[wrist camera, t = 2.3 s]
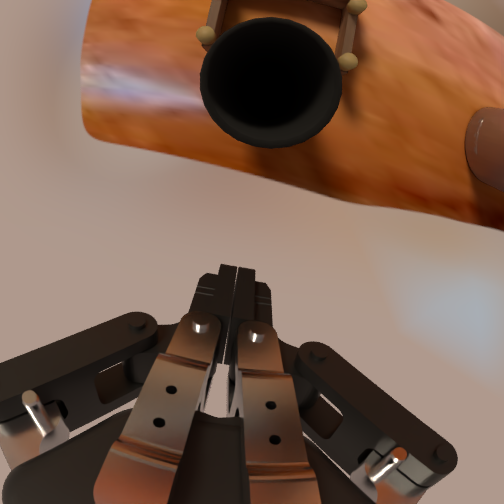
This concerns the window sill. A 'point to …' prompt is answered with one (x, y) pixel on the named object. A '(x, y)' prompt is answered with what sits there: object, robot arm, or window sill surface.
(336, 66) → the cup
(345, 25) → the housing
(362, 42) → the window sill surface
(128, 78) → the window sill surface
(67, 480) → the robot arm
